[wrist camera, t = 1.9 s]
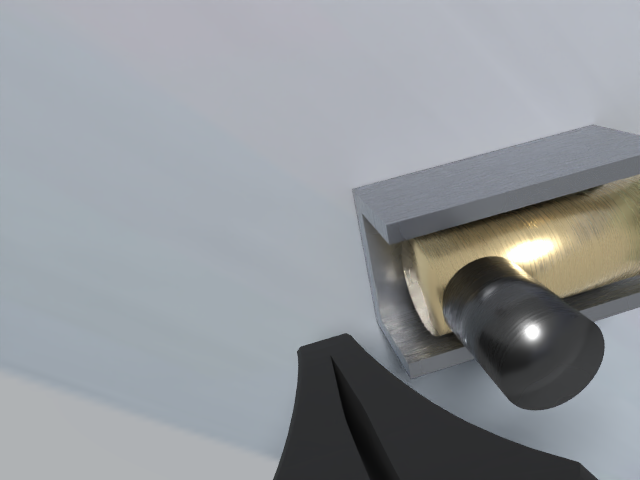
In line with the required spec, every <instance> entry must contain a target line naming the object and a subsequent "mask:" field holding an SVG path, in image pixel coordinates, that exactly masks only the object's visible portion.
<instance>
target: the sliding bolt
mask: <svg viewBox="0 0 640 480" xmlns="http://www.w3.org/2000/svg"><path fill="white" fill-rule="evenodd" d="M401 253H402V264H403V270H404V275H405V279H406V283H407V286H408V290H409V293H410V296H411V298H412V301H413V304H414V306H415V308H416V311H417V313H418V315H419V317H420V319H421V320H422V322H423V324H424V325H425V327H426V328H427V329H428V331H429V332H430V333H431V334H433V335H434V336H441V335H444V334H448V333H451V332H453V333H454V334H455V335H456V336H457V338H458V339H459V340H460V341H461V342H462V344H463V345H464V346H465V347H466V348H467V350H468V351H469V352H470V353H471V354H472V356H473V357H474V358H475V359H476V361H477V362H478V363H479V364H480V365H481V367H482V368H483V369H484V370H485V371H486V373H487V374H488V375H489V376H490V377H491V379H492V380H493V381H494V382H495V384H496V385H497V386H498V387H499V388H500V390H501V391H502V392H503V393H504V394H505V396H506V397H507V398H508V399H509V401H511V402H512V403H513V404H514V405H516V406H518V407H520V408H523V409H527V410H544V409H549V408H553V407H556V406H558V405H561V404H563V403H565V402H567V401H568V400H570V399H572V398H573V397H574V396H576V395H577V394H579V393H580V392H581V391H582V390H583V389H584V388H585V387H586V386H587V385H588V384H589V383H590V381H591V380H592V379H593V377H594V376H595V374H596V373H597V371H598V369H599V367H600V365H601V362H602V359H603V355H604V338H603V335H602V332H601V330H600V329H599V327H598V326H597V325H596V324H595V323H594V322H593V321H591V320H590V319H589V318H587V317H586V316H585V315H583V314H582V313H581V312H579V311H578V310H577V309H575V308H574V307H572V306H571V305H570V304H568V303H567V302H566V301H564V300H563V299H562V298H565V297H568V296H572V295H575V294H578V293H581V292H585V291H588V290H591V289H594V288H598V287H601V286H604V285H608V284H611V283H614V282H617V281H621V280H624V279H627V278H630V277H634V276H637V275H640V174H639V175H635V176H632V177H628V178H625V179H621V180H617V181H614V182H610V183H607V184H603V185H600V186H596V187H593V188H589V189H586V190H582V191H578V192H575V193H571V194H568V195H564V196H561V197H557V198H554V199H550V200H547V201H543V202H539V203H536V204H532V205H529V206H525V207H522V208H518V209H515V210H511V211H508V212H504V213H500V214H497V215H493V216H490V217H486V218H483V219H479V220H476V221H472V222H469V223H465V224H462V225H458V226H454V227H451V228H447V229H444V230H440V231H437V232H433V233H430V234H426V235H423V236H419V237H415V238H412V239H408V240H405V241H403V242H402V249H401Z"/></svg>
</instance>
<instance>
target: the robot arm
mask: <svg viewBox="0 0 640 480" xmlns="http://www.w3.org/2000/svg"><path fill="white" fill-rule="evenodd" d="M297 354H298V383H297V390H296V397H295V404H294V410H293V414H292V419H291V423H290V428H289V432H288V436H287V440H286V443H285V447H284V450H283V453H282V456H281V459H280V462H279V465H278V468H277V471H276V473H275V476H274V479H273V480H598V479H597V478H596V477H595V476H593V475H592V474H591V473H590V472H589V471H588V470H587V469H586V468H585V467H584V466H583V465H581V464H580V463H579V462H576V461H573V460H569V459H566V458H562V457H559V456H556V455H552V454H549V453H545V452H542V451H539V450H535V449H532V448H529V447H526V446H524V445H521V444H518V443H515V442H513V441H510V440H507V439H505V438H502V437H500V436H497V435H495V434H493V433H490V432H488V431H486V430H484V429H482V428H479V427H477V426H475V425H473V424H471V423H468V422H466V421H464V420H463V419H461V418H459V417H457V416H455V415H453V414H451V413H449V412H448V411H446V410H444V409H443V408H441V407H439V406H437V405H436V404H434V403H432V402H431V401H429V400H428V399H426V398H425V397H423V396H422V395H420V394H419V393H417V392H416V391H414V390H413V389H412V388H410V387H409V386H407V385H406V384H405V383H403V382H402V381H401V380H399V379H398V378H397V377H395V376H394V375H393V374H392V373H390V372H389V371H388V370H387V369H385V368H384V367H383V366H382V365H381V364H379V363H378V362H377V361H376V360H375V359H374V358H373V357H372V356H371V355H369V354H368V353H367V352H366V351H365V350H364V349H363V348H362V347H361V346H360V345H359V344H358V343H357V342H356V341H355V340H354V338H353V337H352V336H351V335H349V334H347V333H345V334H342V335H339V336H335V337H332V338H329V339H325V340H322V341H318V342H315V343H312V344H308V345H305V346H302V347H300V348H299V350H298V351H297Z"/></svg>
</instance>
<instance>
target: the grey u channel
mask: <svg viewBox="0 0 640 480" xmlns="http://www.w3.org/2000/svg"><path fill="white" fill-rule="evenodd" d="M639 174H640V136H639V135H635V134H631V133H627V132H622V131H618V130H614V129H610V128H605V127H601V126H597V125H591V126H587V127H583V128H580V129H576V130H572V131H568V132H565V133H561V134H557V135H553V136H550V137H546V138H542V139H538V140H535V141H531V142H527V143H523V144H520V145H516V146H512V147H508V148H505V149H501V150H497V151H493V152H490V153H486V154H482V155H478V156H475V157H471V158H467V159H464V160H460V161H456V162H452V163H449V164H445V165H441V166H437V167H434V168H430V169H426V170H422V171H419V172H415V173H411V174H407V175H404V176H400V177H396V178H392V179H389V180H385V181H381V182H377V183H374V184H370V185H366V186H362V187H359V188H355V189H352V190H353V195H354V201H355V206H356V212H357V217H358V222H359V228H360V233H361V238H362V244H363V249H364V255H365V260H366V265H367V271H368V276H369V281H370V287H371V292H372V298H373V303H374V308H375V314H376V319H377V322H378V324H379V326H380V328H381V329H382V331H383V333H384V334H385V336H386V338H387V339H388V341H389V343H390V344H391V346H392V348H393V349H394V351H395V353H396V355H397V356H398V358H399V360H400V361H401V363H402V365H403V366H404V368H405V370H406V371H407V373H408V375H409V377H410V378H411V379H413V378H416V377H419V376H422V375H425V374H429V373H432V372H435V371H438V370H441V369H444V368H448V367H451V366H454V365H457V364H460V363H464V362H467V361H470V360H473V359H475V358H474V357H473V356H472V354H471V353H470V352H469V351H468V350H467V348H466V347H465V346H464V345H463V344H462V342H461V341H460V340H459V339H458V338H457V336H456V335H455V334H454V333H453V332H451V333H448V334H444V335H441V336H434V335H433V334H431V333H430V332H429V331H428V329H427V328H426V327H425V325H424V324H423V322H422V320H421V319H420V317H419V315H418V313H417V311H416V308H415V306H414V304H413V301H412V298H411V296H410V293H409V290H408V286H407V283H406V279H405V275H404V270H403V264H402V253H401V249H402V242H403V241H405V240H408V239H412V238H415V237H419V236H423V235H426V234H430V233H433V232H437V231H440V230H444V229H447V228H451V227H454V226H458V225H462V224H465V223H469V222H472V221H476V220H479V219H483V218H486V217H490V216H493V215H497V214H500V213H504V212H508V211H511V210H515V209H518V208H522V207H525V206H529V205H532V204H536V203H539V202H543V201H547V200H550V199H554V198H557V197H561V196H564V195H568V194H571V193H575V192H578V191H582V190H586V189H589V188H593V187H596V186H600V185H603V184H607V183H610V182H614V181H617V180H621V179H625V178H628V177H632V176H635V175H639ZM562 299H563V300H564V301H566V302H567V303H568V304H570V305H571V306H572V307H574V308H575V309H577V310H578V311H579V312H581V313H582V314H583V315H585V316H586V317H587V318H589V319H590V320H591V321H593V322H594V321H597V320H600V319H604V318H607V317H610V316H613V315H616V314H619V313H623V312H626V311H629V310H632V309H635V308H639V307H640V275H637V276H634V277H630V278H627V279H624V280H621V281H617V282H614V283H611V284H608V285H604V286H601V287H598V288H594V289H591V290H588V291H585V292H581V293H578V294H575V295H572V296H568V297H565V298H562Z"/></svg>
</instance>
